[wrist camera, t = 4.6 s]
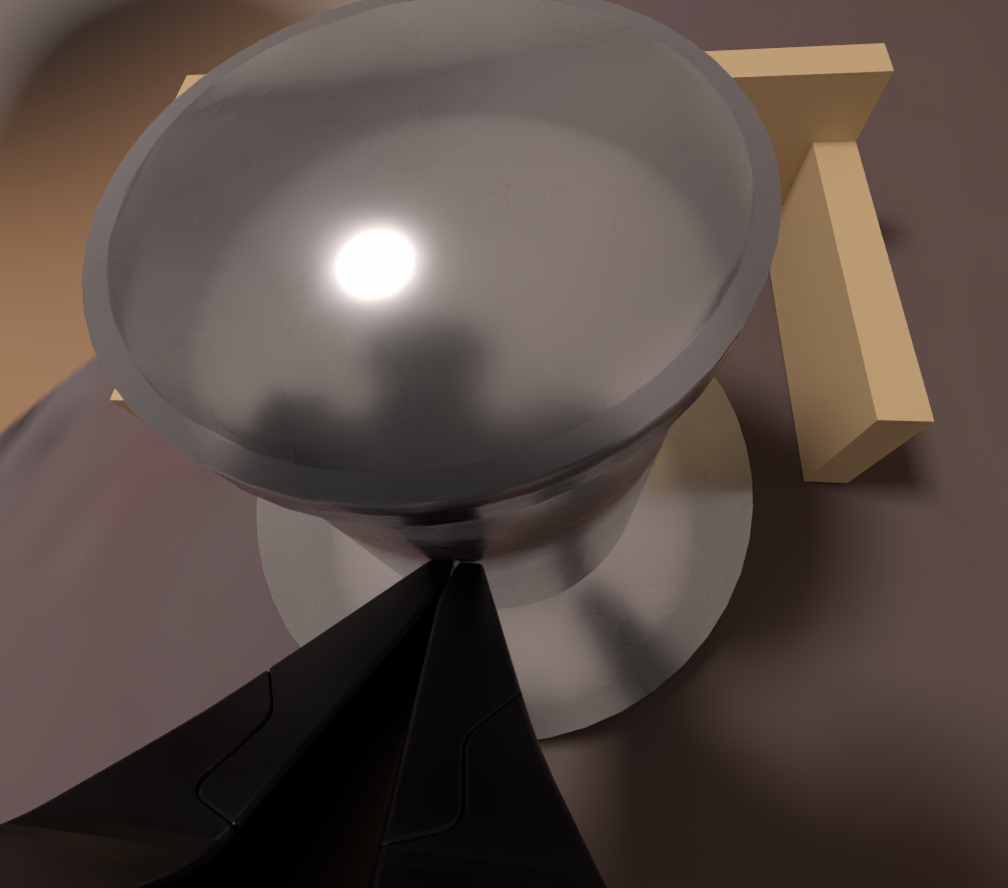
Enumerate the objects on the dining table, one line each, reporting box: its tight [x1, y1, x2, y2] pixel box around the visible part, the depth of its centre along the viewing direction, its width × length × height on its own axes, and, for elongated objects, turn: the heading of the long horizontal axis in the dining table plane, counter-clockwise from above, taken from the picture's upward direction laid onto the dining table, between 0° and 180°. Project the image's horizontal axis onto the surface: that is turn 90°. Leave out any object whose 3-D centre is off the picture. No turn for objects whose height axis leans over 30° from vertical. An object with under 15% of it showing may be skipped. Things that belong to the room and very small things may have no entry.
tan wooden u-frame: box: [110, 43, 934, 483], centre depth 16 cm, size 11×20×6 cm, turn 86°
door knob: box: [82, 0, 782, 739], centre depth 12 cm, size 14×14×11 cm
